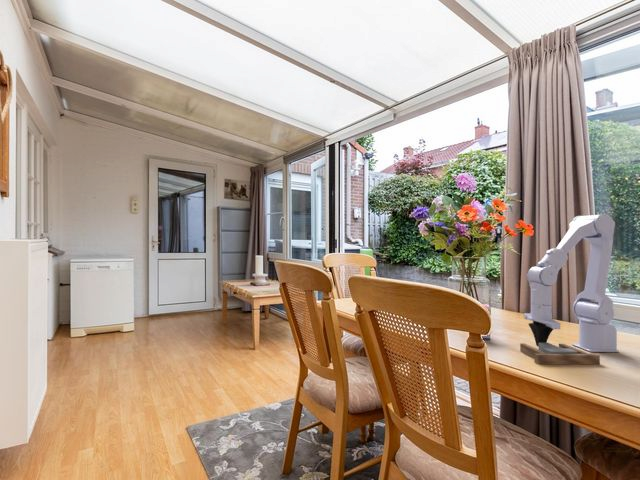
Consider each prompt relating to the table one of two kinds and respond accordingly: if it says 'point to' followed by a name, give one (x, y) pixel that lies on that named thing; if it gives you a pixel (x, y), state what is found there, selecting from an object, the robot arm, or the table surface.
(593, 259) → the robot arm
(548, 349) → the t block
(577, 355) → the walnut bay
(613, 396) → the table surface
